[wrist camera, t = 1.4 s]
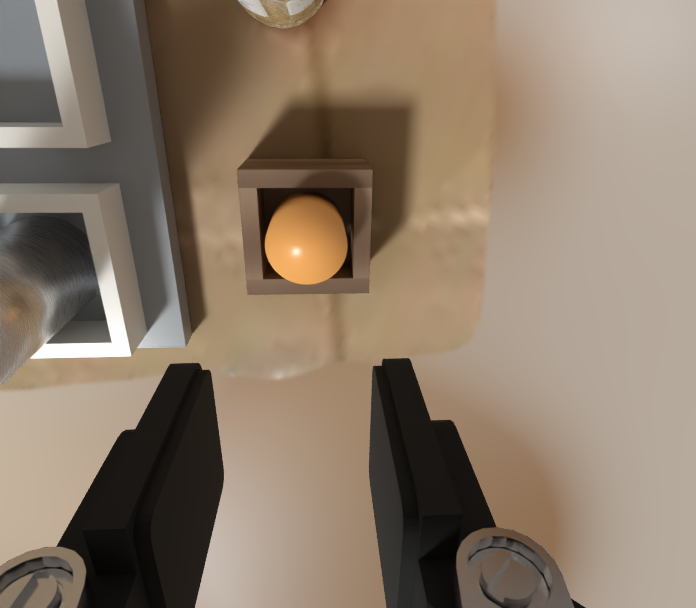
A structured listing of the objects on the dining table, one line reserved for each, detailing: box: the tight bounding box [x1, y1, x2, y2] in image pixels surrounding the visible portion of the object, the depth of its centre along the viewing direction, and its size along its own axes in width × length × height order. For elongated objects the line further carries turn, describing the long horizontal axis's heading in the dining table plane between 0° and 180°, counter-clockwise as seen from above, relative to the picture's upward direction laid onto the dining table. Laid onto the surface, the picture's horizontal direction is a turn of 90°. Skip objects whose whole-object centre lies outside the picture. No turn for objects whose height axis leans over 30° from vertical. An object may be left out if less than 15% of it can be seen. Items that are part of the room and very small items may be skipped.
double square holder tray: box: [0, 0, 192, 358], centre depth 22 cm, size 20×12×4 cm, turn 179°
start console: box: [237, 158, 373, 295], centre depth 24 cm, size 6×6×4 cm
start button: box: [265, 191, 348, 285], centre depth 22 cm, size 4×4×3 cm
